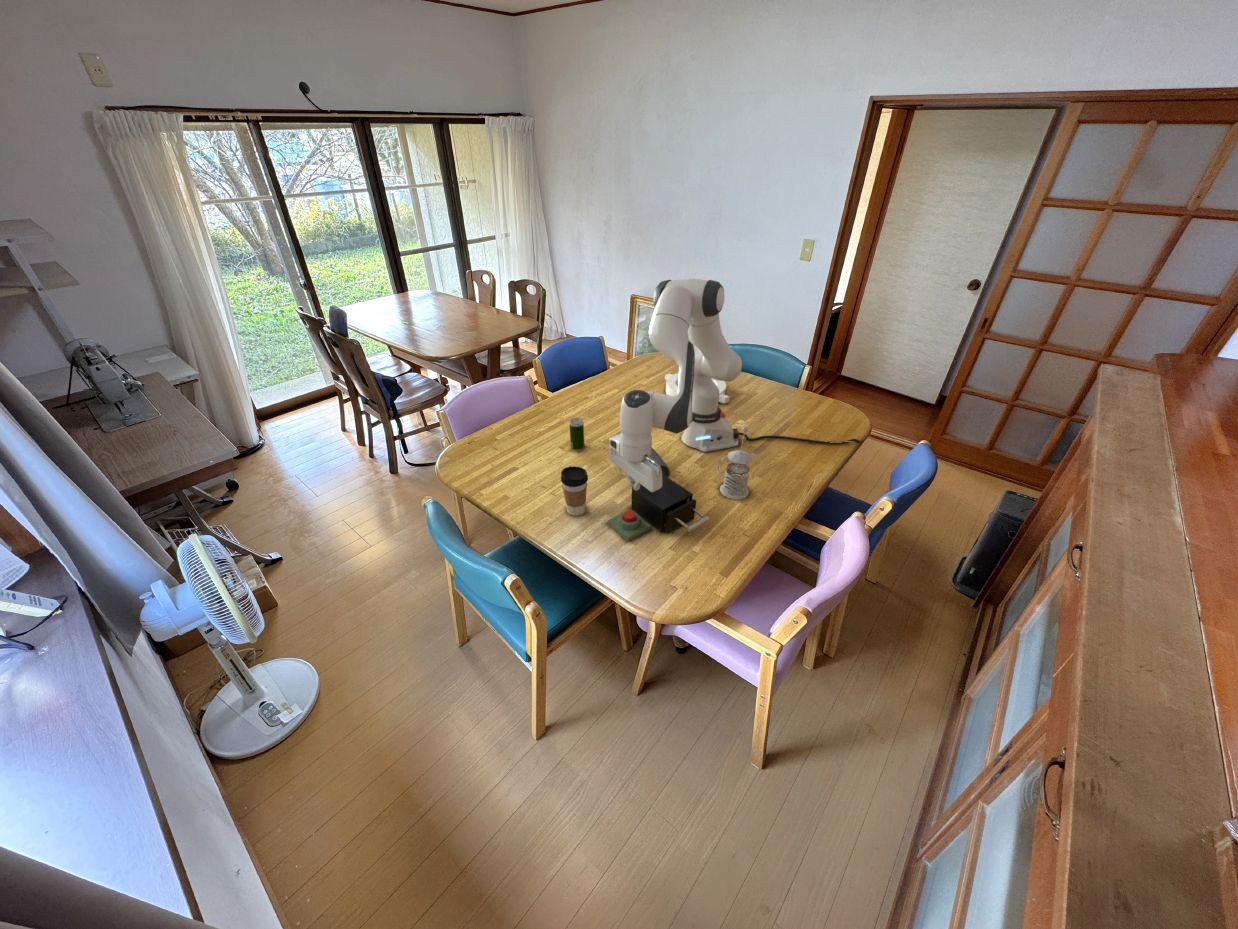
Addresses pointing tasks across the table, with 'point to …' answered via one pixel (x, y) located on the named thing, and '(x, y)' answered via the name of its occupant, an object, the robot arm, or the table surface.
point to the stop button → (629, 516)
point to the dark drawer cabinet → (658, 501)
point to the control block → (629, 526)
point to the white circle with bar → (673, 386)
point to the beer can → (577, 434)
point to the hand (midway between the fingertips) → (634, 487)
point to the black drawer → (682, 516)
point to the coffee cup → (574, 489)
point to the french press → (735, 485)
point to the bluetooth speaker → (660, 462)
